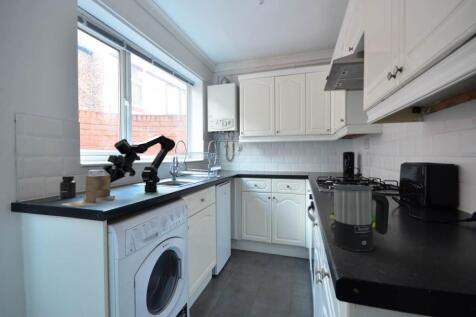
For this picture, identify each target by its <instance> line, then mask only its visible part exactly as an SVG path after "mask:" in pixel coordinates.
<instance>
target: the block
mask: <svg viewBox="0 0 476 317" xmlns="http://www.w3.org/2000/svg"><path fill="white" fill-rule="evenodd" d="M107 196H111V183H110V175H109V174H104V175H93V176H89V175H85V197H86V202H91V203H96V198H101V197H107Z"/></svg>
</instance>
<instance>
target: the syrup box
mask: <svg viewBox="0 0 476 317" xmlns="http://www.w3.org/2000/svg"><path fill="white" fill-rule="evenodd" d="M93 175H105V170H104V169H89V170H88V176H93Z"/></svg>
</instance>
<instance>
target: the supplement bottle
mask: <svg viewBox="0 0 476 317" xmlns="http://www.w3.org/2000/svg"><path fill="white" fill-rule="evenodd" d="M61 177H62V178H61V182H59V192H58V193H59V200H66V199H74V198H76V197H77V181H75V176H74V175H63V176H61Z"/></svg>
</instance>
